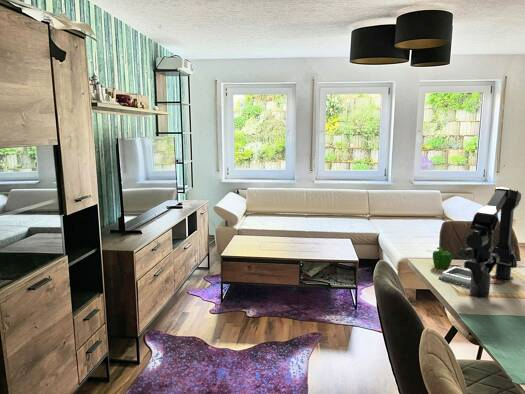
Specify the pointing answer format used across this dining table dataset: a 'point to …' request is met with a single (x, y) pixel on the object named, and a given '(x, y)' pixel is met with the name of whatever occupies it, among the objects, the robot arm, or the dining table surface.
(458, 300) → the dining table surface
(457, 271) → the gray square tray
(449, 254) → the bell pepper
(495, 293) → the dining table surface
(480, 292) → the supplement bottle
